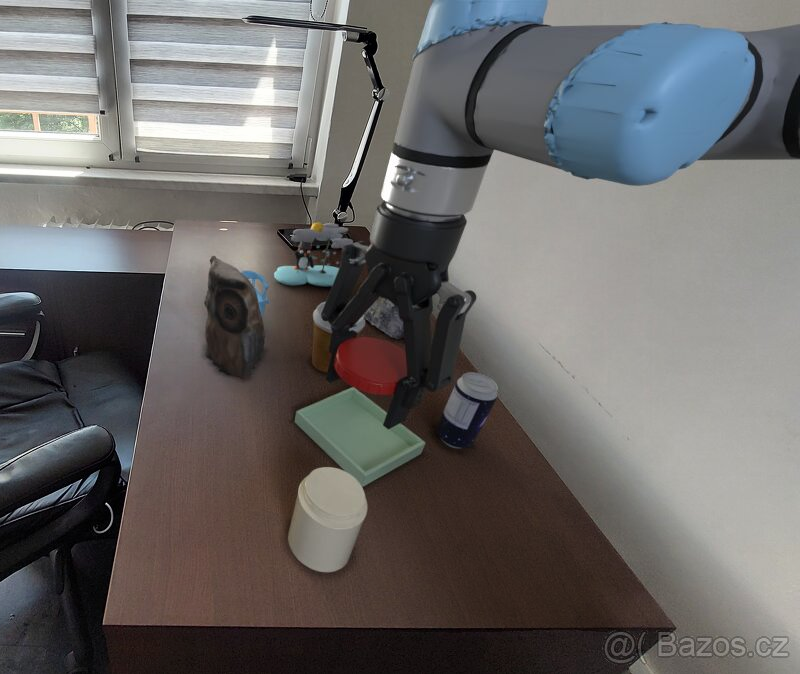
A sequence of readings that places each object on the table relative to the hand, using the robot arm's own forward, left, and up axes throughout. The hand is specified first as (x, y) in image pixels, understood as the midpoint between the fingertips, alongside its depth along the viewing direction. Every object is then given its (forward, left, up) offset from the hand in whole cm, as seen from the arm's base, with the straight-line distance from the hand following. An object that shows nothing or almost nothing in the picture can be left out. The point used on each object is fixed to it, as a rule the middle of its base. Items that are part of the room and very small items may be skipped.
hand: (363, 399), depth 53 cm
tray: (+7, -12, -19) cm, 24 cm away
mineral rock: (+29, -44, -19) cm, 57 cm away
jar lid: (0, 0, +6) cm, 6 cm away
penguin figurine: (+54, -44, -19) cm, 73 cm away
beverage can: (-1, -26, -19) cm, 33 cm away
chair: (+44, -16, -19) cm, 51 cm away
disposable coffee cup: (+24, -22, -19) cm, 38 cm away
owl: (+34, -7, -19) cm, 40 cm away
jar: (-4, +6, -19) cm, 20 cm away
